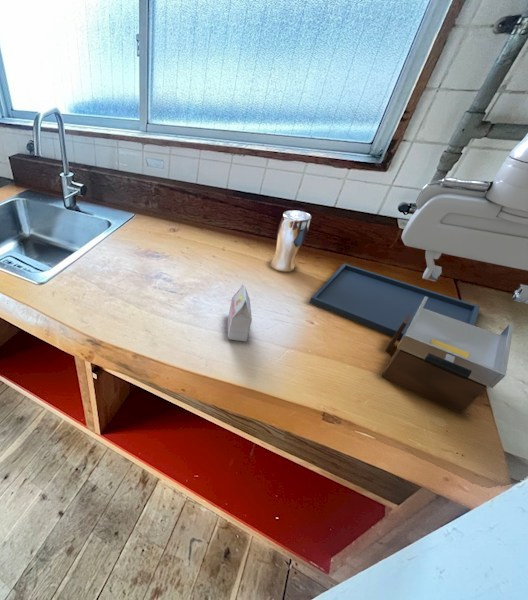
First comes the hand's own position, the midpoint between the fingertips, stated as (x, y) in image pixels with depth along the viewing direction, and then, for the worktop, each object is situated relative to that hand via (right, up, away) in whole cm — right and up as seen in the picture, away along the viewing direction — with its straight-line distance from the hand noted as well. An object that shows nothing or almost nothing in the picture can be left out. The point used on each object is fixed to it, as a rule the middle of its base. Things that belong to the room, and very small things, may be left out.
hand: (471, 288), depth 44 cm
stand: (+6, -15, +14) cm, 22 cm away
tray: (+13, -3, +30) cm, 32 cm away
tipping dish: (+6, -10, +10) cm, 15 cm away
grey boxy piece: (-24, -8, +26) cm, 36 cm away
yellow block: (+5, -10, +8) cm, 14 cm away
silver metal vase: (-4, +8, +46) cm, 47 cm away
